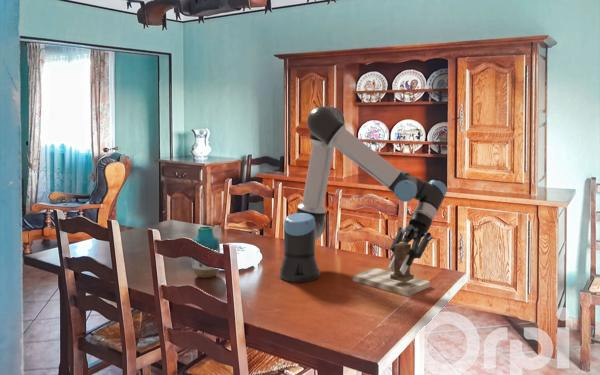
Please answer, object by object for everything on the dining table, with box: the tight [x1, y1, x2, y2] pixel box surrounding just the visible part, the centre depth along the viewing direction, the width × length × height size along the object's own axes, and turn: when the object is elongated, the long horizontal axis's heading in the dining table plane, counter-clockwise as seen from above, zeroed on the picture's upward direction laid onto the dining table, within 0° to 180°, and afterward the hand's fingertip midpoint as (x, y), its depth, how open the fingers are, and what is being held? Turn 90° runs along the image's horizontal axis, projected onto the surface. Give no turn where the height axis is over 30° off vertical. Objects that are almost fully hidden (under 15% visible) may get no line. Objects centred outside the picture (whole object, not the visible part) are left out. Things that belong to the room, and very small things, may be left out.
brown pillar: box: [390, 242, 415, 282], centre depth 191 cm, size 6×6×13 cm
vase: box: [191, 225, 221, 279], centre depth 205 cm, size 11×11×19 cm
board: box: [352, 267, 431, 297], centre depth 198 cm, size 24×14×2 cm, turn 46°
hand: (396, 271), depth 189 cm, fingers closed on brown pillar, 4 cm apart
